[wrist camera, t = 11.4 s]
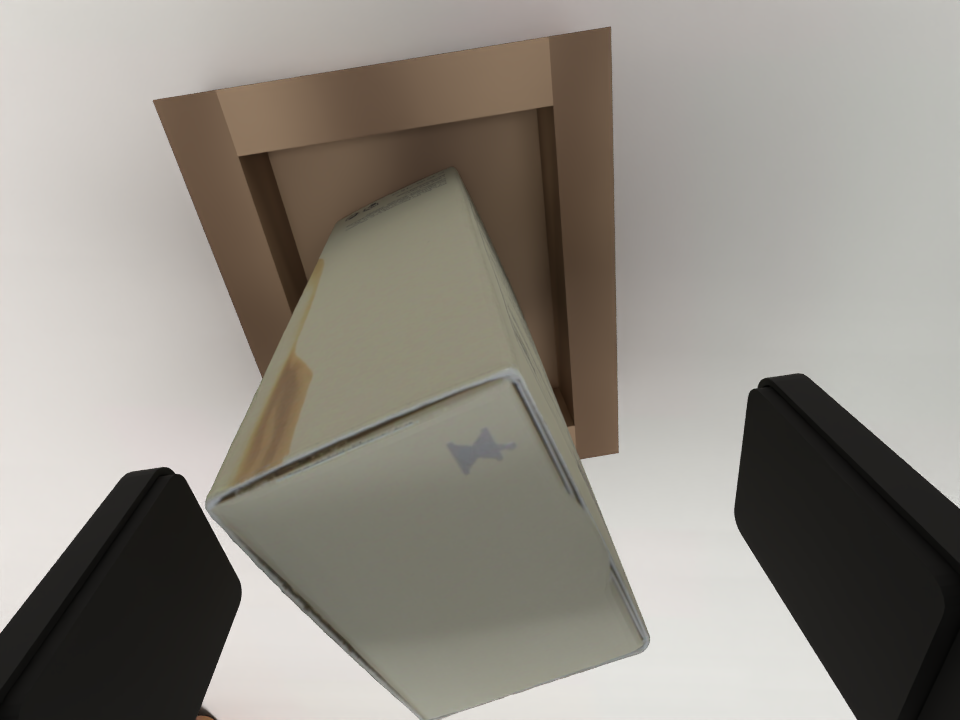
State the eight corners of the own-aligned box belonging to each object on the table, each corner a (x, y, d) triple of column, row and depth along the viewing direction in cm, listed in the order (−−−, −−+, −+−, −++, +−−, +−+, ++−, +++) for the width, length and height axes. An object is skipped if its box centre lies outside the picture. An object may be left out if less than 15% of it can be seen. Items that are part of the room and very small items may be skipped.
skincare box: (330, 221, 17) (163, 490, 6) (456, 160, 16) (511, 338, 6) (424, 379, 20) (419, 743, 9) (532, 332, 19) (662, 661, 9)
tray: (575, 34, 16) (610, 26, 13) (592, 399, 22) (618, 452, 19) (205, 93, 16) (152, 100, 13) (328, 443, 22) (312, 504, 19)
